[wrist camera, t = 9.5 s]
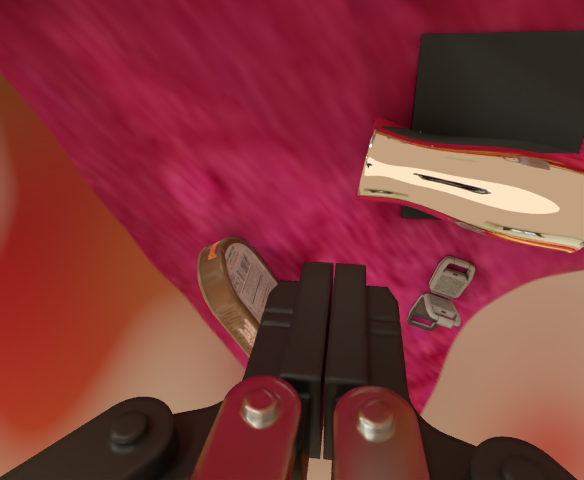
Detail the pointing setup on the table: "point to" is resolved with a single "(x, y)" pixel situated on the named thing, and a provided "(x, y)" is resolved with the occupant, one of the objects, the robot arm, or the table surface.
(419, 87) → the mat
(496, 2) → the table surface
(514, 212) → the beer glass
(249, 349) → the tin
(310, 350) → the robot arm
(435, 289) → the strap clip
